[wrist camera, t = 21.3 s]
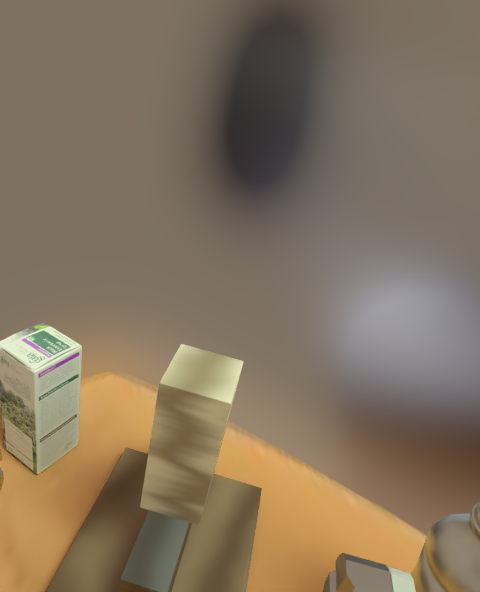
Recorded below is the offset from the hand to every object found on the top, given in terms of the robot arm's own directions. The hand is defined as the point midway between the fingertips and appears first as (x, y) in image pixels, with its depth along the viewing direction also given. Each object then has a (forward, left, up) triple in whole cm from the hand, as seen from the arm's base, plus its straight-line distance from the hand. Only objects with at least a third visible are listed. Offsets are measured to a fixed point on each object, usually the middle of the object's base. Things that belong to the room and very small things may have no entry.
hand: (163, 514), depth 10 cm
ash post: (+2, -18, -23) cm, 29 cm away
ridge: (+2, -18, -32) cm, 37 cm away
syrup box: (+19, -25, -32) cm, 45 cm away
